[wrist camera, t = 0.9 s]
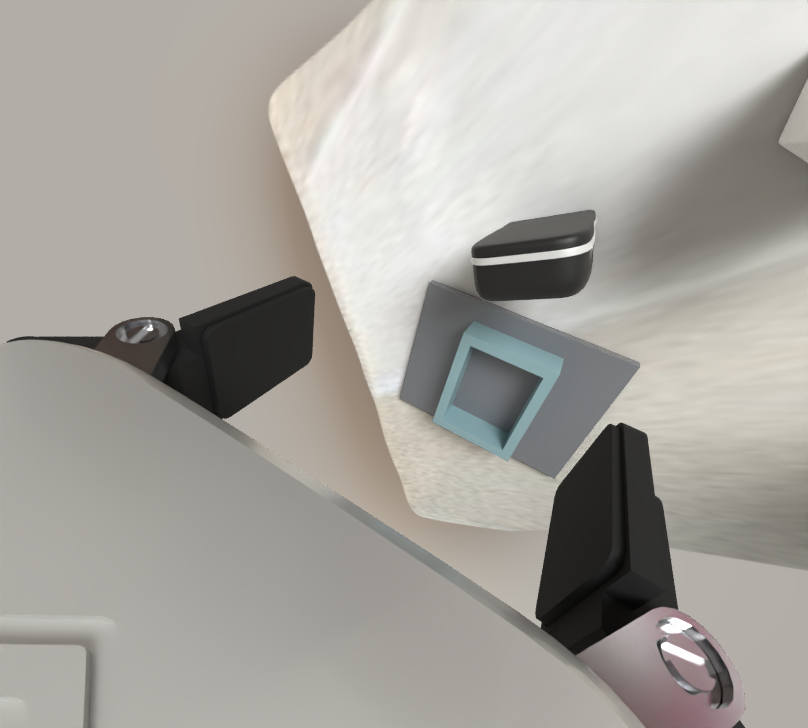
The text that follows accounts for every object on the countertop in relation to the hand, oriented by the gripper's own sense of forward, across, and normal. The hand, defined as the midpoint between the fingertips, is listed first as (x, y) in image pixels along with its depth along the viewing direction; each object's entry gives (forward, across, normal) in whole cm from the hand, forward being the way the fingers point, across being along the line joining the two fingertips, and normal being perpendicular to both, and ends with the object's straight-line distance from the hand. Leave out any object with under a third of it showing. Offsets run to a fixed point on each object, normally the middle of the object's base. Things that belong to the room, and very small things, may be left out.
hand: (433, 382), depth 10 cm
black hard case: (+24, 0, 0) cm, 24 cm away
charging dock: (+24, -1, +15) cm, 28 cm away
